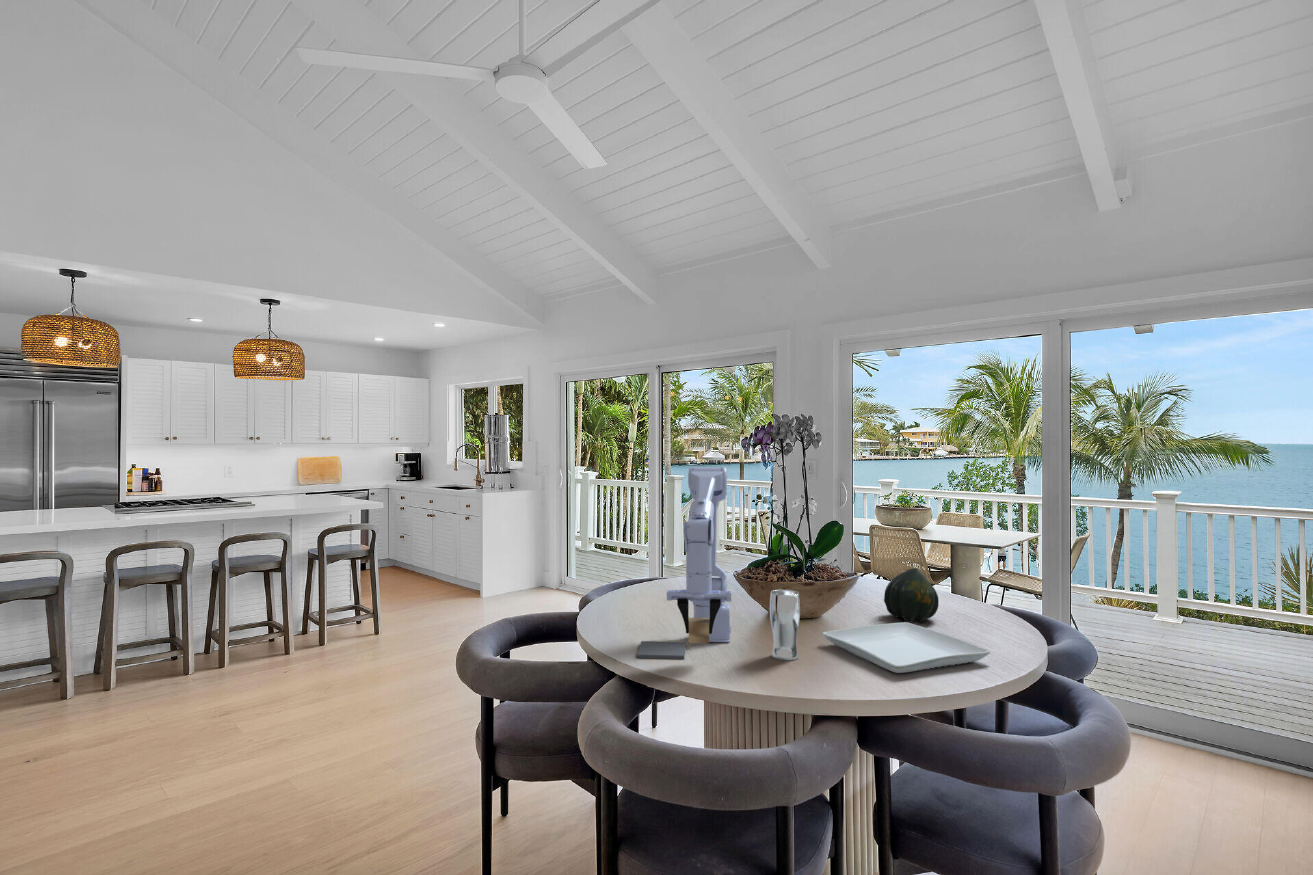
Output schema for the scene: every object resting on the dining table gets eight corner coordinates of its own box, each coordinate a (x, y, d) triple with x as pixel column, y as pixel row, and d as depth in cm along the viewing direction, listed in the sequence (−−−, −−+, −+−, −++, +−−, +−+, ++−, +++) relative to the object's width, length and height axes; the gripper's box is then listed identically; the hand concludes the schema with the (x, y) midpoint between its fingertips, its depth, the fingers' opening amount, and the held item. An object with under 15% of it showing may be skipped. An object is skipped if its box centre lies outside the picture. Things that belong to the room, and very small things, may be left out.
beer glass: (804, 655, 157) (803, 591, 157) (794, 663, 151) (794, 596, 151) (776, 650, 160) (775, 588, 161) (765, 658, 154) (765, 593, 155)
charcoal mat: (685, 645, 165) (685, 641, 165) (684, 659, 154) (684, 655, 154) (641, 644, 166) (641, 640, 166) (636, 657, 155) (636, 654, 155)
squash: (883, 605, 183) (919, 564, 184) (868, 595, 198) (901, 558, 199) (923, 640, 182) (958, 599, 183) (904, 628, 197) (937, 590, 198)
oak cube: (709, 637, 152) (708, 617, 152) (709, 643, 148) (709, 623, 148) (689, 637, 152) (689, 617, 153) (688, 642, 148) (688, 622, 148)
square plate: (820, 646, 165) (819, 630, 165) (907, 634, 175) (907, 620, 175) (896, 681, 140) (895, 663, 140) (993, 666, 150) (993, 649, 150)
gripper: (665, 575, 147) (665, 636, 147) (731, 575, 146) (731, 637, 146) (667, 569, 154) (667, 627, 154) (730, 569, 153) (730, 629, 153)
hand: (699, 632), depth 150 cm, fingers closed on oak cube, 4 cm apart
